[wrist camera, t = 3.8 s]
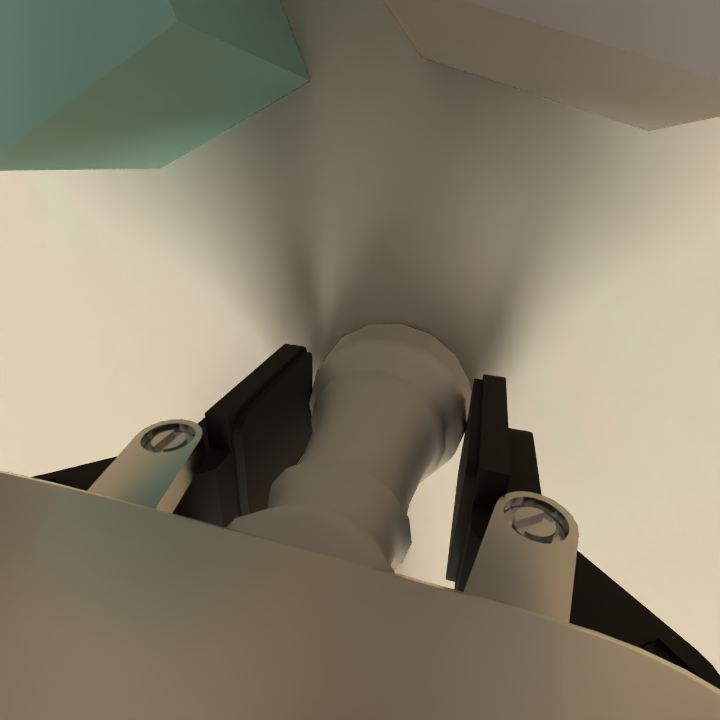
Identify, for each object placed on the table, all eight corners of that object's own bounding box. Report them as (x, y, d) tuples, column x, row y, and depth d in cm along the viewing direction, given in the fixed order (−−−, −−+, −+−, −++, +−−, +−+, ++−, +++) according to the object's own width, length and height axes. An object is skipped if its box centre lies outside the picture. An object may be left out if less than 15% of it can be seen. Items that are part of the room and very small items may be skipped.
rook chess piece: (304, 335, 13) (85, 534, 6) (451, 299, 11) (383, 515, 4) (351, 458, 14) (217, 736, 7) (488, 442, 13) (480, 777, 6)
